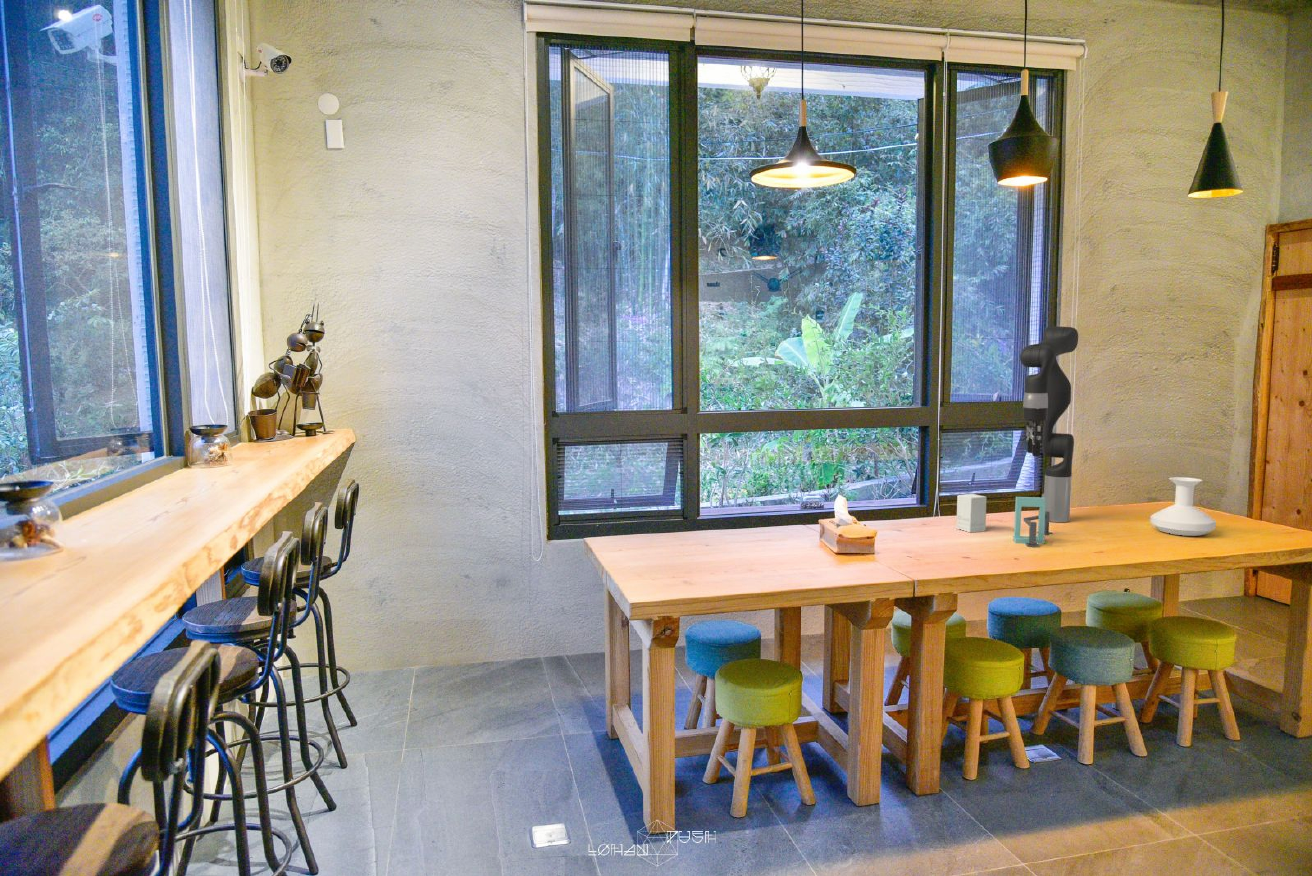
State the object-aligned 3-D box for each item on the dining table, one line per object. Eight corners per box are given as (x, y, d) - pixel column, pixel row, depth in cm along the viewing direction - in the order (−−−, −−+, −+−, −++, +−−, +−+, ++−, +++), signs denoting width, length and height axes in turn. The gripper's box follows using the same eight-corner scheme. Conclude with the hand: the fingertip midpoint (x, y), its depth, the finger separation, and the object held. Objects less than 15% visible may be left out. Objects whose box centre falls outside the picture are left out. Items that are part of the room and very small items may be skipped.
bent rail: (1014, 545, 294) (1015, 521, 293) (1030, 531, 316) (1031, 509, 315) (1038, 548, 290) (1039, 524, 289) (1053, 533, 312) (1054, 511, 311)
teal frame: (1013, 540, 301) (1014, 496, 300) (1041, 541, 300) (1043, 496, 298) (1015, 543, 297) (1017, 498, 296) (1044, 544, 296) (1046, 499, 294)
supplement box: (986, 531, 316) (987, 496, 314) (969, 533, 313) (971, 498, 312) (971, 527, 323) (973, 493, 321) (955, 529, 320) (956, 494, 319)
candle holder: (1136, 528, 320) (1139, 476, 318) (1181, 525, 325) (1184, 474, 323) (1182, 540, 301) (1186, 485, 299) (1229, 537, 306) (1232, 482, 304)
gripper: (1019, 404, 301) (1017, 451, 303) (1027, 407, 287) (1025, 457, 289) (1042, 404, 300) (1040, 452, 302) (1052, 408, 286) (1050, 457, 288)
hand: (1033, 454), depth 295 cm, fingers open, 8 cm apart
